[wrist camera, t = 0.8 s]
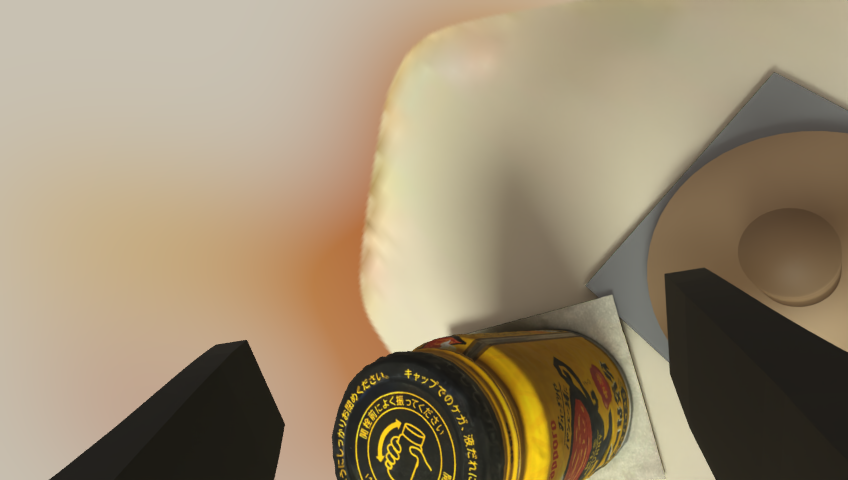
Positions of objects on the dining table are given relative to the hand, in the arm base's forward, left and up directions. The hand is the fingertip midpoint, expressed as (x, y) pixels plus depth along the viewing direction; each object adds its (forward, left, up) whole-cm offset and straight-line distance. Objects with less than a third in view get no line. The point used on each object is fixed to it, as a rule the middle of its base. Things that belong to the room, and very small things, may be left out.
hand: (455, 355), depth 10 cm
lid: (-1, -5, -16) cm, 17 cm away
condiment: (+3, +5, -16) cm, 17 cm away
